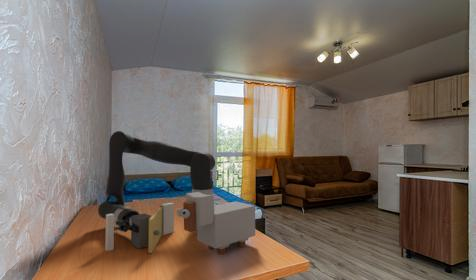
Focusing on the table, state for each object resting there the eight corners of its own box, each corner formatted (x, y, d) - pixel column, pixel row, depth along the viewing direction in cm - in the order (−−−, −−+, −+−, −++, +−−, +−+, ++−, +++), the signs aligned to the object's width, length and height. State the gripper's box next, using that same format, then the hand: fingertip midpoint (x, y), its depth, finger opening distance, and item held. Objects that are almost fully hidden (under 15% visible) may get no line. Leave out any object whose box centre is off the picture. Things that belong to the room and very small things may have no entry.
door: (158, 235, 97) (159, 207, 98) (166, 234, 98) (166, 207, 98) (148, 252, 81) (148, 219, 81) (157, 252, 81) (158, 219, 81)
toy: (170, 257, 78) (171, 194, 78) (236, 237, 96) (235, 186, 97) (188, 270, 70) (188, 199, 70) (255, 244, 88) (255, 189, 89)
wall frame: (171, 231, 103) (171, 202, 104) (173, 232, 102) (174, 203, 102) (105, 249, 84) (105, 214, 84) (107, 251, 83) (108, 215, 83)
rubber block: (144, 239, 93) (144, 213, 93) (153, 244, 88) (153, 216, 88) (130, 243, 89) (131, 215, 90) (139, 248, 84) (139, 219, 85)
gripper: (107, 211, 93) (125, 221, 82) (143, 205, 104) (164, 213, 92) (107, 231, 93) (125, 244, 82) (143, 223, 104) (163, 233, 92)
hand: (145, 228), depth 87 cm, fingers closed on rubber block, 5 cm apart
